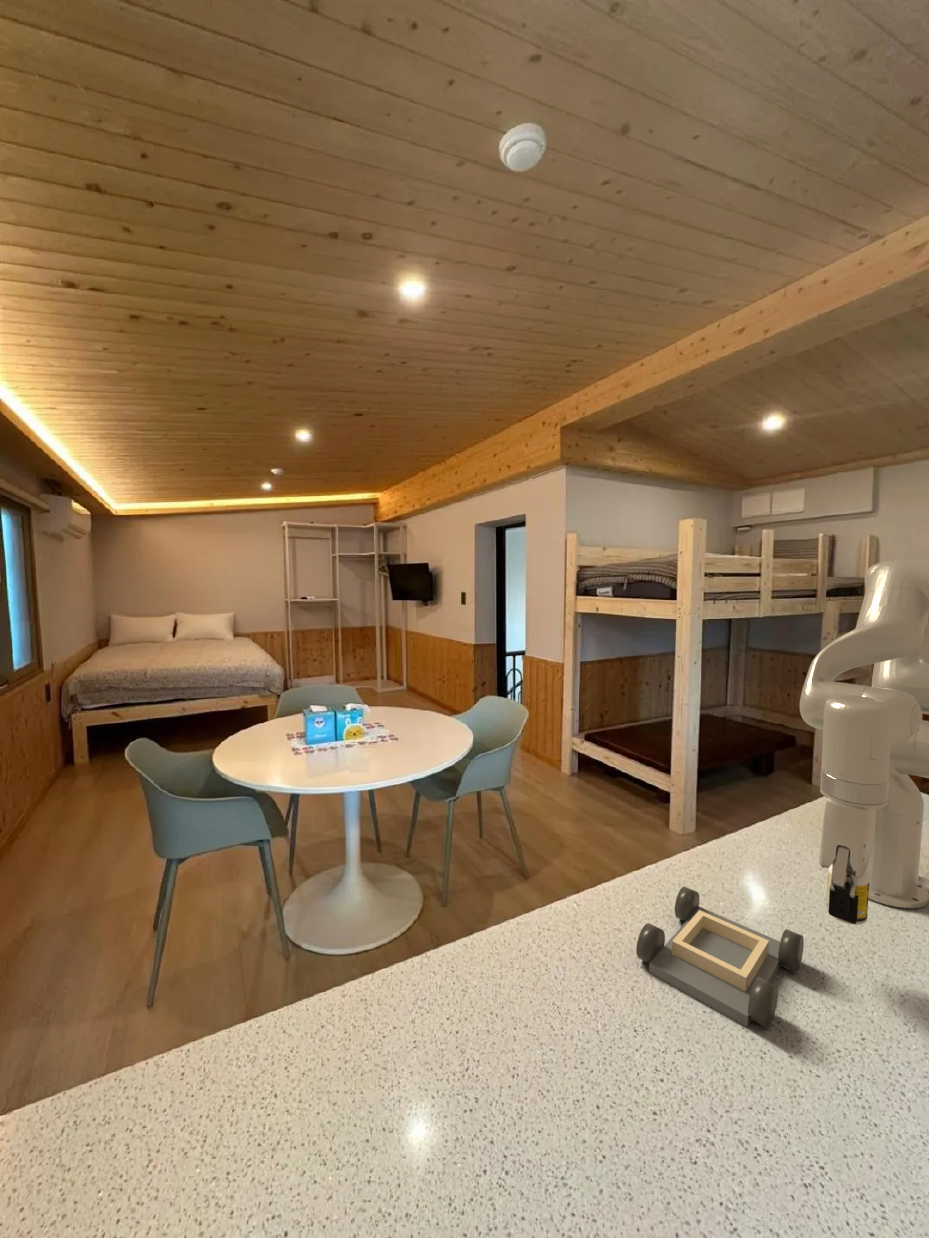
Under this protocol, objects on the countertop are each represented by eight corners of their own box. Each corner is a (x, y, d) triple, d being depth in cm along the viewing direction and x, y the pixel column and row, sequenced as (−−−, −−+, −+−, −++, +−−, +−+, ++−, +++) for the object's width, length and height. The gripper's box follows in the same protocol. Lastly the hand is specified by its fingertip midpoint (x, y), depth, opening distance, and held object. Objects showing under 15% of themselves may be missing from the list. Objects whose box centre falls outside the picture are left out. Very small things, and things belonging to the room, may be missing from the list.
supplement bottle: (874, 927, 73) (877, 870, 72) (835, 924, 74) (838, 867, 73) (856, 905, 77) (859, 850, 76) (820, 902, 78) (822, 848, 77)
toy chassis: (686, 909, 90) (687, 881, 90) (802, 961, 78) (804, 929, 78) (635, 965, 77) (636, 932, 77) (764, 1037, 65) (766, 999, 65)
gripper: (834, 761, 82) (828, 872, 84) (805, 799, 70) (800, 926, 72) (896, 774, 77) (888, 892, 79) (877, 817, 65) (869, 954, 67)
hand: (846, 907), depth 75 cm, fingers closed on supplement bottle, 4 cm apart
